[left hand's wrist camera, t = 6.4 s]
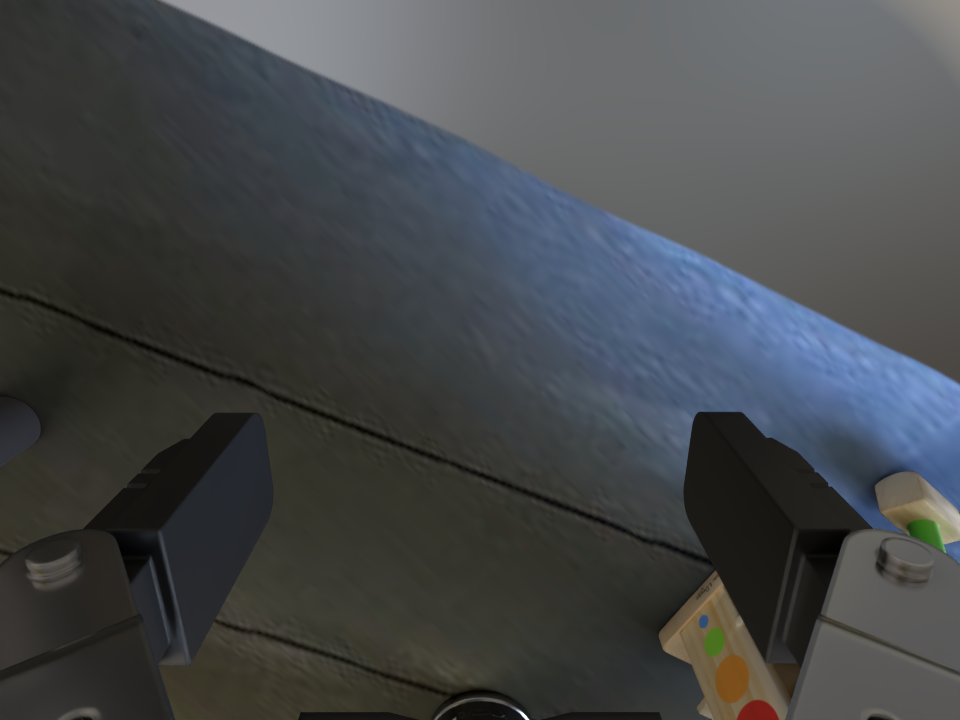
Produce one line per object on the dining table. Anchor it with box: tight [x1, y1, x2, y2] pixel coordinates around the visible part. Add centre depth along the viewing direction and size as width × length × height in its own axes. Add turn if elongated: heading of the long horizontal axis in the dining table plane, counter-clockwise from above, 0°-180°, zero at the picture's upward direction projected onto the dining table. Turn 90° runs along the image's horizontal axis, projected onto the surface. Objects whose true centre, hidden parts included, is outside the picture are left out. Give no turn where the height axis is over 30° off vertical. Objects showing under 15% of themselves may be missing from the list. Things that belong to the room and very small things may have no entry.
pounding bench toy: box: [659, 471, 960, 720], centre depth 40 cm, size 23×14×18 cm, turn 149°
